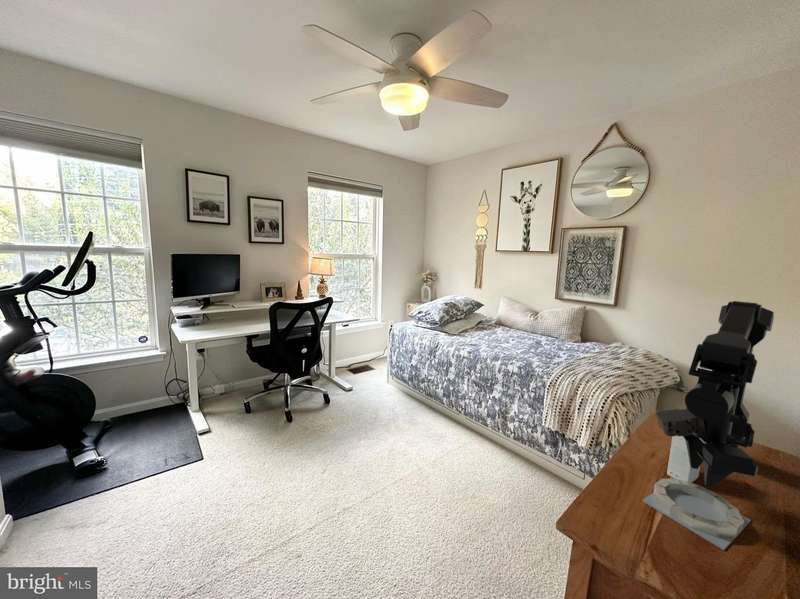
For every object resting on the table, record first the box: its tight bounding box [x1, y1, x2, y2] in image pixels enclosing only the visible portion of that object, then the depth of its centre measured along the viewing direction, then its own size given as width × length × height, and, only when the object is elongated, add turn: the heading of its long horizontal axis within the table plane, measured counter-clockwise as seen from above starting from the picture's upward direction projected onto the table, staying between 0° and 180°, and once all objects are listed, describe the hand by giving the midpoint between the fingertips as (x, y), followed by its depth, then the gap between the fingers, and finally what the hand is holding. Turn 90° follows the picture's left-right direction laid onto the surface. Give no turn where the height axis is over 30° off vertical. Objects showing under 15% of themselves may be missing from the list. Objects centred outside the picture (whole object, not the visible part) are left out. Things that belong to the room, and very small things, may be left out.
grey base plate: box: [641, 491, 751, 551], centre depth 67 cm, size 14×13×1 cm
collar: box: [653, 478, 744, 539], centre depth 67 cm, size 13×13×2 cm
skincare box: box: [666, 435, 701, 483], centre depth 77 cm, size 6×4×12 cm
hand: (700, 476), depth 66 cm, fingers open, 5 cm apart
